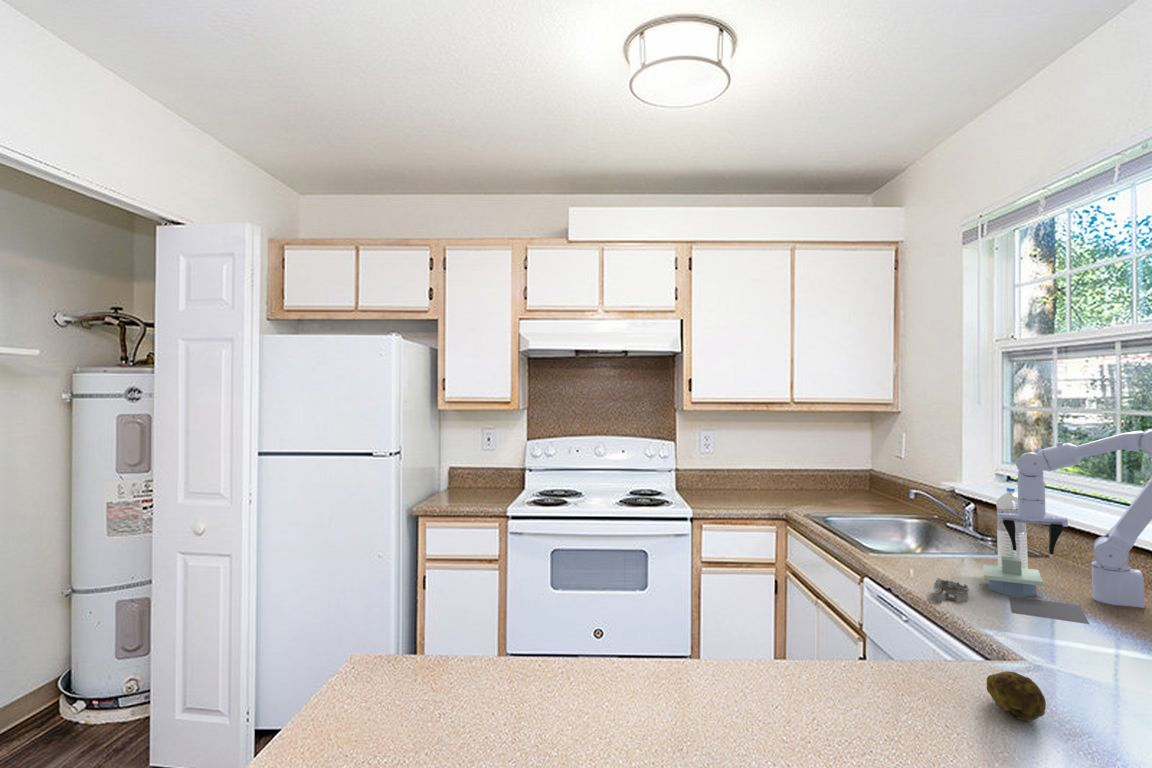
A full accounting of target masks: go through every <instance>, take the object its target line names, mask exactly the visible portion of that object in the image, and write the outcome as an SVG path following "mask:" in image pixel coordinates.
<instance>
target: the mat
mask: <svg viewBox="0 0 1152 768" xmlns="http://www.w3.org/2000/svg"><path fill="white" fill-rule="evenodd" d="M1008 600H1009V605H1010V612H1011V614H1017V615H1022V616H1023V615H1025V616H1031V617H1038V618H1044V619H1045V618H1046V619H1050V620H1052V619H1053V620H1060V621H1066V622H1072V623H1080V624H1086V625H1090V622H1089V620H1088V618H1087V615H1086V614H1085V612H1084V610H1083V609H1082V608H1083V607H1082V606H1081V605H1080V604H1074V603H1073V604H1072V603H1067V602H1059V601H1052V600H1051V601H1050V600H1044V599H1035V598H1029V597H1022V596H1014V595H1008Z"/></svg>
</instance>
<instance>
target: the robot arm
mask: <svg viewBox="0 0 1152 768" xmlns="http://www.w3.org/2000/svg"><path fill="white" fill-rule="evenodd" d="M1139 448H1141V449H1142V450H1143V452H1144V453H1145V454H1146V455H1147V456H1148V457H1149V458H1150V461H1151V462H1152V428H1148V429H1146V430H1134V431H1128V432H1122V433H1118V434H1115V435H1111V436H1108V437H1105V438H1101V439H1098V440H1094V441H1090V442H1089V441H1088V442H1086V443H1083V444H1079V445H1075V444H1073V443H1071V442H1066V443H1063V441H1060V442H1056V443H1055V445H1053V446H1049V447H1046V448H1043V449H1040V448H1039V447H1037V448H1035V449H1034V452H1032V451H1030V452H1028V451H1027V452H1025V453H1023V454H1021V455H1020V456H1019V457H1018V458H1017V460H1016V468H1017V471H1018V472H1017V478H1018V480H1017V495H1018V514H1015V513H998V521H1002V522H1003V524H1004V526H1005V528H1006V530H1007V532H1008V534H1009V536H1010V539H1011V542H1012V547H1013V550H1015V551H1016V540H1015V523H1014V522H1020V523H1026V524H1032V525H1033V524H1034V525H1036V524H1037V525H1047V526H1048V535H1049V541H1048V552H1049V553H1048V554H1050V555H1054V553H1055V552H1054V551H1055V548H1056V547H1055V546H1056V545H1057V542H1058V539H1059V537H1060V536H1061V534H1062V532H1063V530H1064V527H1066V528H1068V526H1069V521H1068V520H1069V519H1068V518H1067V517H1059V516H1052V515H1051V516H1049V515H1046V486H1045V485H1046V484H1045V480H1044V471H1047V472H1051V471H1057V470H1061V469H1064V468H1069V467H1072V466H1073V467H1074V466H1076V465H1079V464H1080V463H1081V461H1082V460H1083V458H1088V457H1093V456H1097V455H1101V454H1106V453H1111V452H1116V451H1121V450H1122V451H1123V450H1124V451H1131V452H1136V453H1140V452H1139V451H1140V450H1139ZM1024 520H1026V521H1024ZM1151 521H1152V476H1151V477H1150V479H1148V482H1146V484H1145V485H1144V487H1143V488H1142V489H1141V490H1140V492H1139V493H1138V494H1137V496H1136V497H1135V499H1134V500H1133V501H1132V502H1131V504H1130V505H1129V506H1128V507H1127V509H1126V510H1125V511H1124V513H1123V514H1122V515H1121V517H1120V518H1119V519H1118V520H1117V522H1116V524H1114V525H1113V526H1111V528H1110V529H1109V530H1108V532H1107V533H1105V534H1104V535H1103V536H1100V537H1098V538H1096V539H1095V540H1094V542H1093V545H1092V549H1093V558H1094V560H1093V561H1091V562H1090V563H1091V586H1092V587H1091V589H1092V591H1091V592H1092V594H1091V595H1092V599H1093V600H1094V601H1097V602H1099V603H1101V604H1102V603H1103V604H1107V605H1114V606H1124V607H1134V608H1141V609H1145V606H1146V603H1145V580H1144V576H1143V573H1142V571H1141V570H1140V569H1135V568H1134V569H1133V568H1131V565H1129V564H1128V561H1129V553H1130V551H1131V550H1132V548H1133V547H1134V545H1135V543H1136V541H1137V539H1138V538H1139V537H1140V535H1141V534H1142V532H1143V531H1144V530H1145V528H1146V527H1147V526H1148V525H1149V524H1150V523H1151Z"/></svg>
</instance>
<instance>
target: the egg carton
mask: <svg viewBox="0 0 1152 768" xmlns="http://www.w3.org/2000/svg"><path fill="white" fill-rule="evenodd" d="M932 589H933V591H935V592H934V593H935V594H934V600H935V601H938V602H939V603H942V602H943V601H945V600H953V601H955V602H957V603H962V602H963V603H964V602H968V598H969V597H968V595H969V594H968V592H969V591H970V588H969V585H967V584H963V585H961V583H959V582H954V581H952V580H948V579H946V580H944V579H942V578H939V577H937V578H936V581H935V582H934V583H933V586H932ZM944 589H946V593H943V592H944ZM958 591H959V592H958Z"/></svg>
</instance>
